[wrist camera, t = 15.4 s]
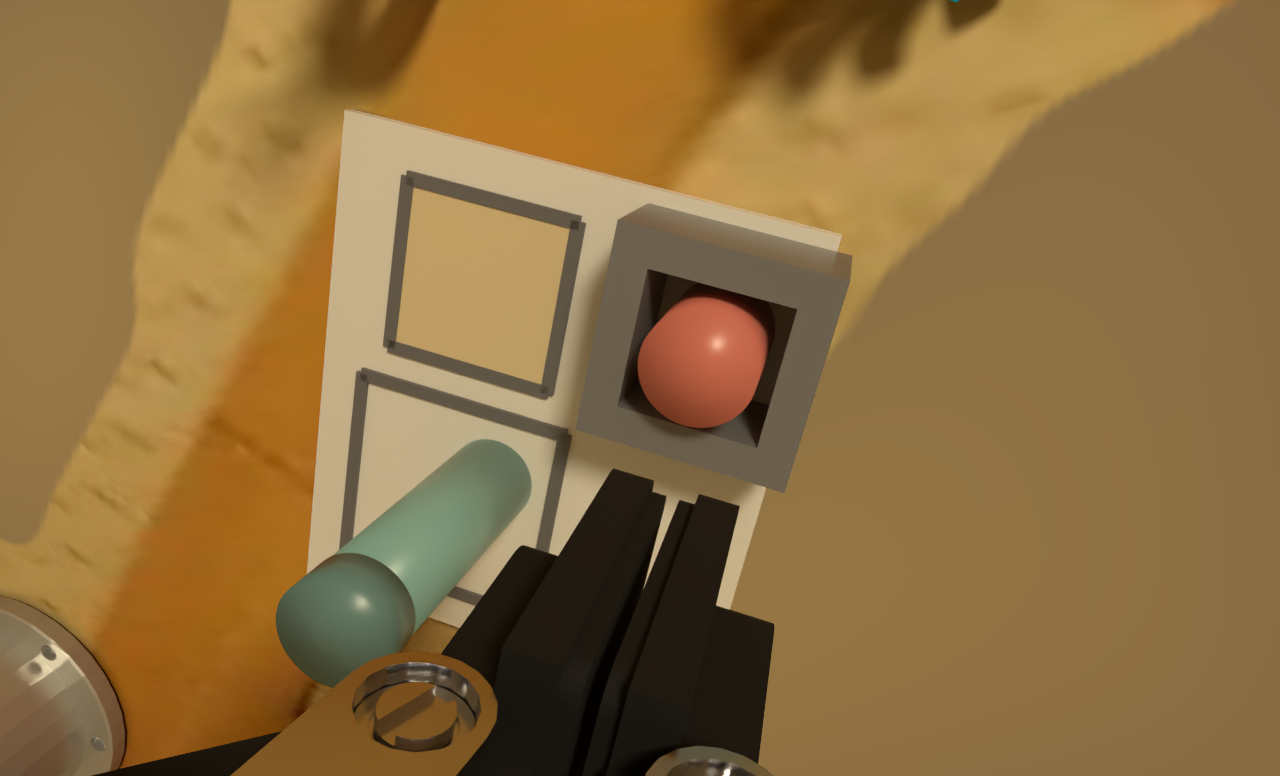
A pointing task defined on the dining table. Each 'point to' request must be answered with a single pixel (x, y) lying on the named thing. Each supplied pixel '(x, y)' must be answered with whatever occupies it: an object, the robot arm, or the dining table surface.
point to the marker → (402, 563)
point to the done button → (706, 356)
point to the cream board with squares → (489, 338)
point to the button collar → (728, 261)
